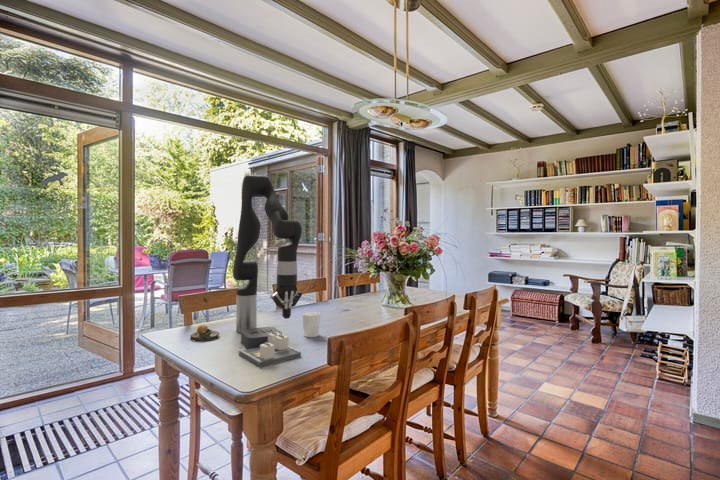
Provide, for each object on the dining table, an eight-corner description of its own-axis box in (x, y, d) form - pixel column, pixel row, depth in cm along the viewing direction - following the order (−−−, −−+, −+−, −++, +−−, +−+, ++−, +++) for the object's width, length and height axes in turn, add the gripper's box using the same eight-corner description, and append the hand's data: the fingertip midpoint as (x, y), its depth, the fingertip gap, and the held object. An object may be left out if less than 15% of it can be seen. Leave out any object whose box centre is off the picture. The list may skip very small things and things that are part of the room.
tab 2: (267, 344, 150) (267, 332, 150) (276, 343, 153) (276, 330, 152) (272, 347, 147) (272, 334, 147) (280, 345, 150) (281, 332, 150)
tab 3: (274, 348, 146) (274, 335, 146) (283, 346, 149) (283, 333, 148) (279, 350, 143) (279, 337, 143) (288, 348, 146) (288, 335, 146)
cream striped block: (259, 356, 136) (260, 342, 136) (269, 354, 138) (269, 341, 138) (264, 359, 133) (265, 345, 133) (274, 357, 136) (274, 343, 135)
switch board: (239, 355, 143) (239, 350, 143) (278, 346, 154) (278, 341, 154) (259, 367, 131) (259, 361, 131) (300, 356, 142) (300, 351, 142)
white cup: (299, 336, 169) (299, 314, 169) (307, 332, 176) (308, 311, 176) (314, 338, 166) (314, 316, 166) (322, 334, 173) (323, 312, 173)
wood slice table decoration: (222, 339, 164) (222, 322, 164) (194, 343, 157) (194, 326, 157) (214, 333, 174) (214, 317, 174) (187, 337, 167) (187, 320, 166)
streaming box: (248, 351, 148) (248, 338, 148) (239, 342, 160) (239, 330, 160) (283, 346, 155) (283, 333, 155) (272, 337, 168) (272, 326, 168)
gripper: (296, 270, 149) (296, 313, 150) (266, 272, 140) (265, 318, 141) (307, 272, 143) (306, 317, 144) (276, 275, 135) (275, 322, 135)
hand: (286, 318), depth 143 cm, fingers closed
